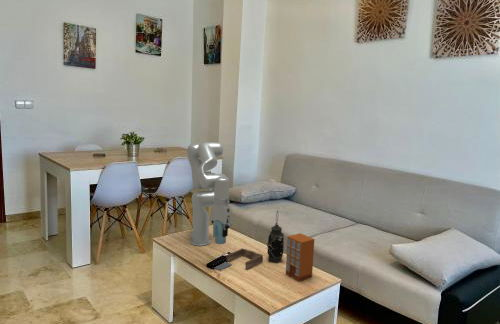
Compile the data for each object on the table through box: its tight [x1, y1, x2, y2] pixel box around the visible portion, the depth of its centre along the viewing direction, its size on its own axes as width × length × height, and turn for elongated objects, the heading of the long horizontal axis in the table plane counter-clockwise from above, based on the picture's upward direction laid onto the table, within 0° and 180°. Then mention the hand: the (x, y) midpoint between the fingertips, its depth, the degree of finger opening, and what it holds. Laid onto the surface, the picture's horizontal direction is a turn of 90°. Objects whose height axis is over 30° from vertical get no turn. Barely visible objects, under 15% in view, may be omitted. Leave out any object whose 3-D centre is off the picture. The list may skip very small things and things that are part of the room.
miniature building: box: [285, 232, 315, 282], centre depth 191 cm, size 10×9×20 cm
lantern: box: [266, 210, 285, 263], centre depth 209 cm, size 10×9×28 cm
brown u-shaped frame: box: [225, 248, 264, 271], centre depth 206 cm, size 14×14×4 cm
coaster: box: [213, 261, 233, 271], centre depth 201 cm, size 9×9×1 cm
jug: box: [212, 220, 227, 245], centre depth 198 cm, size 8×6×12 cm
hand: (220, 234), depth 199 cm, fingers closed on jug, 5 cm apart
